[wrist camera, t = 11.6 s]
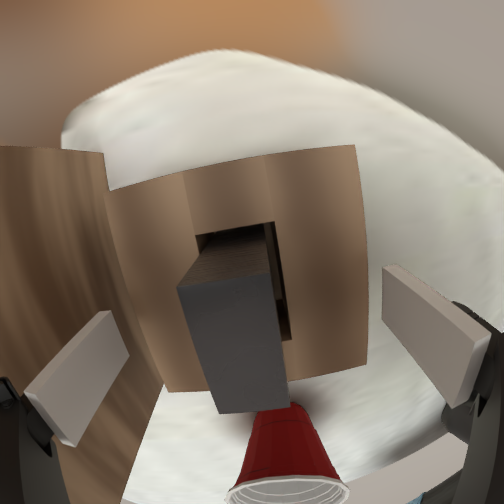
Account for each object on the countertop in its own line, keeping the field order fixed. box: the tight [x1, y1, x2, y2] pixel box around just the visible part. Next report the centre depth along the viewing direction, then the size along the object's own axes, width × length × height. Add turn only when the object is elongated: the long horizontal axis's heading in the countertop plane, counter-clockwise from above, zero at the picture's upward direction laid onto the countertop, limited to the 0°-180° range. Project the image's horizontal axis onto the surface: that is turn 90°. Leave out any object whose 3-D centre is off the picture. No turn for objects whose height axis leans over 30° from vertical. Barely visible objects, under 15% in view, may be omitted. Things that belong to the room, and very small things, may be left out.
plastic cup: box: [224, 402, 350, 504], centre depth 21 cm, size 11×11×12 cm
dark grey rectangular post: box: [176, 223, 291, 414], centre depth 15 cm, size 3×6×12 cm, turn 10°
